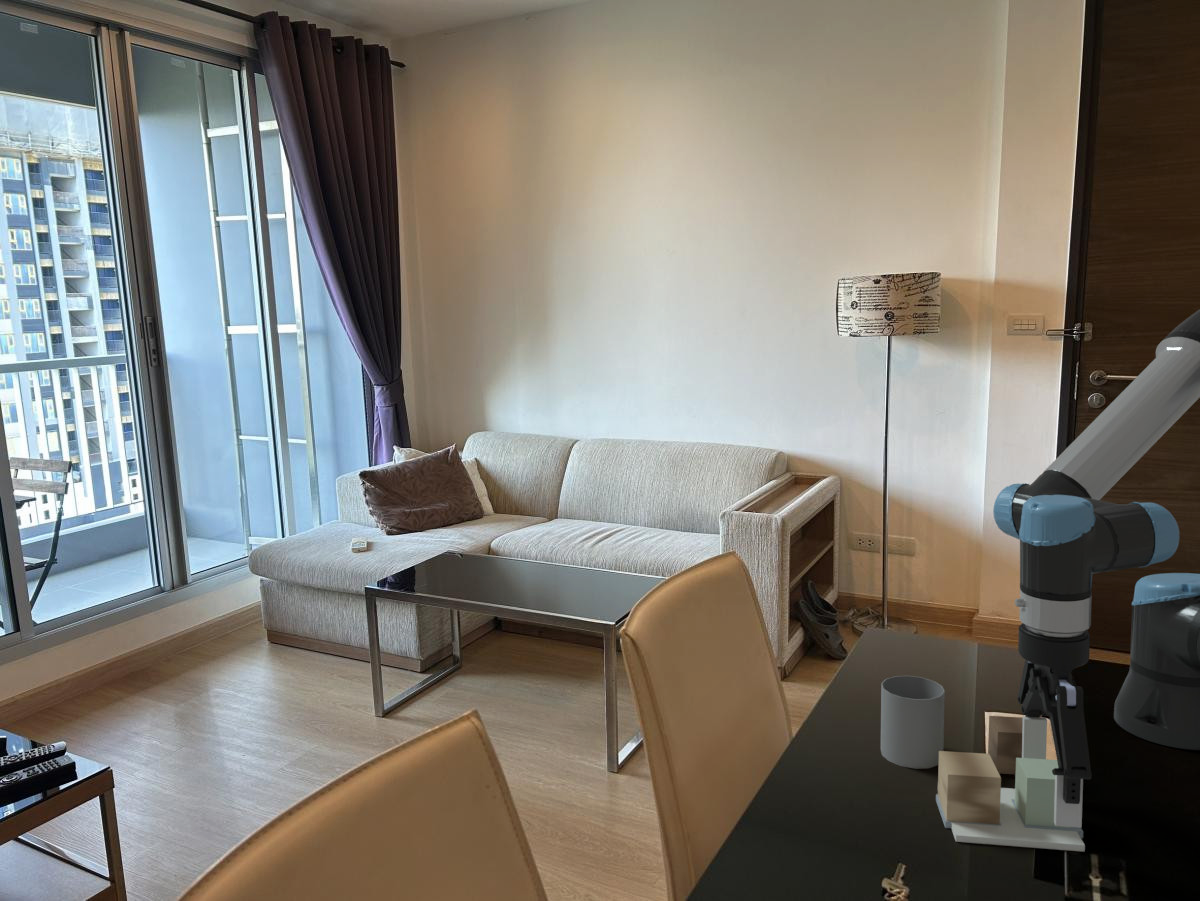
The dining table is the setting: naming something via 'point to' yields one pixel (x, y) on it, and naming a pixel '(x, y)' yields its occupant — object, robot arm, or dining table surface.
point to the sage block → (1035, 791)
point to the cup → (912, 721)
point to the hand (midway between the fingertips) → (1049, 793)
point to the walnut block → (1005, 742)
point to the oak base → (969, 787)
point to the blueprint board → (1014, 829)
